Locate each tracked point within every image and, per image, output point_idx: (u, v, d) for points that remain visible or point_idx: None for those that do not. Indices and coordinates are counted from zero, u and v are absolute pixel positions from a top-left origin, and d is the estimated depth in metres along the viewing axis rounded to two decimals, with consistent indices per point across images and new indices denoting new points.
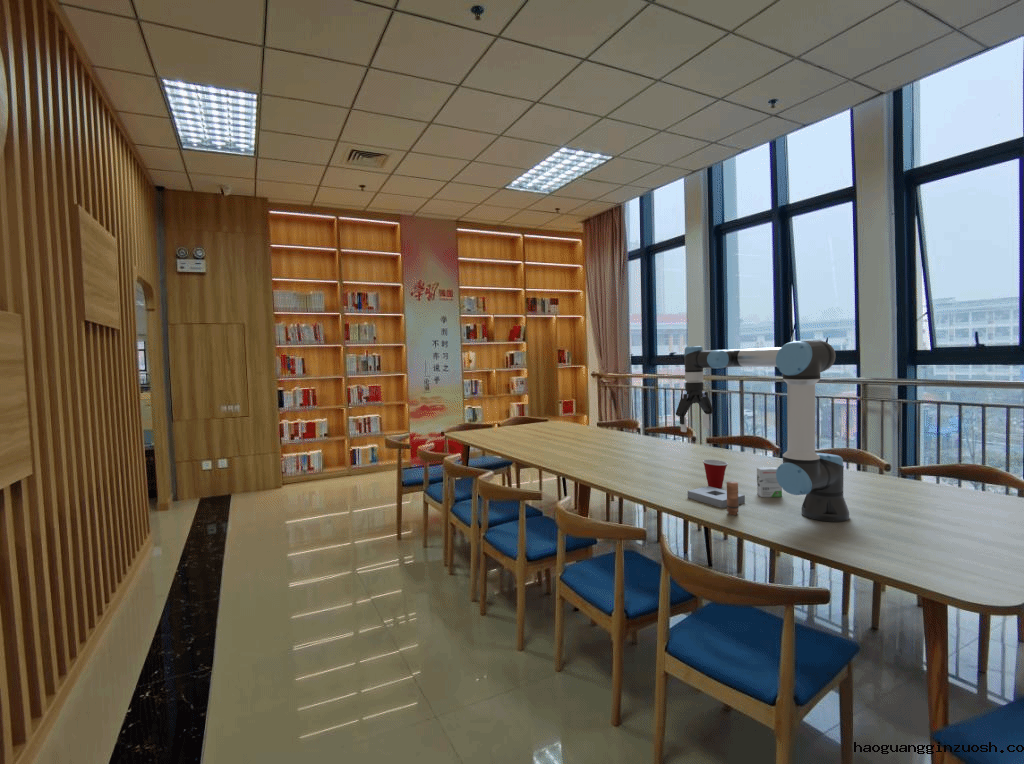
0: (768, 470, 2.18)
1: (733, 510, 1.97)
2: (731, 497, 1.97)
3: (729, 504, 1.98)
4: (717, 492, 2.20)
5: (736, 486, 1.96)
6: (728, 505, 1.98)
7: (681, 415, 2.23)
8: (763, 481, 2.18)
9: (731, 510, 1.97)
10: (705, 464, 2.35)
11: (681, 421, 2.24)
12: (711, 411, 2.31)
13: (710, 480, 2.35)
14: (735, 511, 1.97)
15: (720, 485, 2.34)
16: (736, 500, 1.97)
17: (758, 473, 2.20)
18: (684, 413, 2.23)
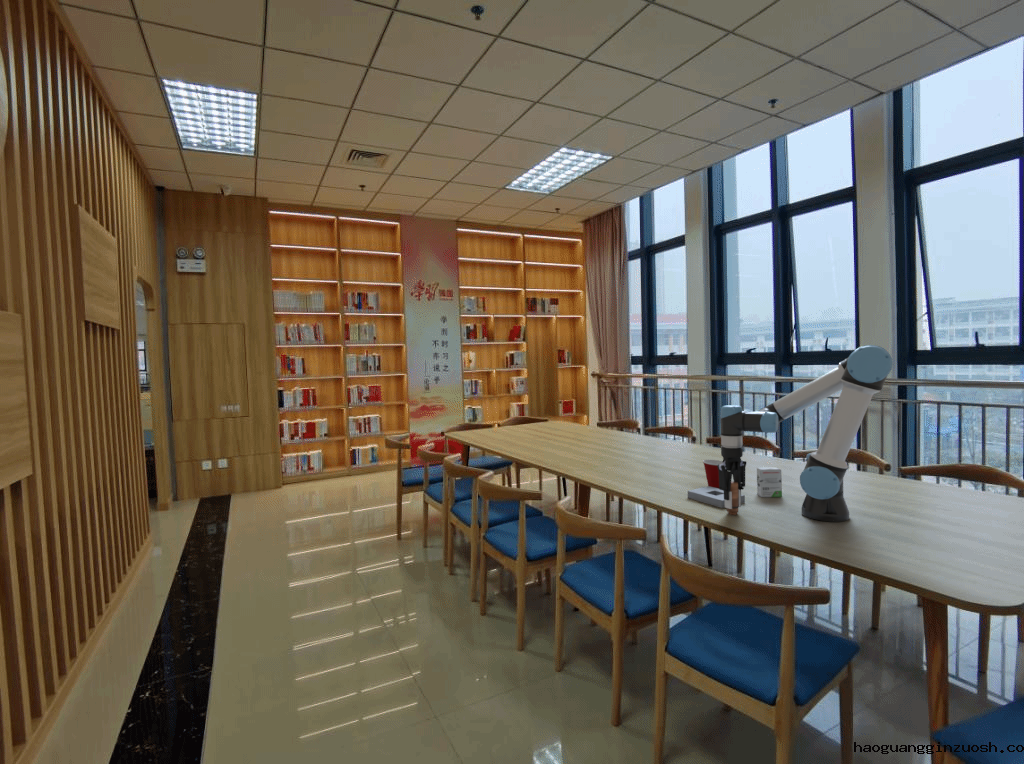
0: (768, 470, 2.18)
1: (733, 510, 1.97)
2: None
3: None
4: (717, 492, 2.20)
5: (736, 486, 1.96)
6: None
7: (726, 491, 1.96)
8: (763, 481, 2.18)
9: (731, 510, 1.97)
10: (705, 464, 2.35)
11: (726, 496, 1.96)
12: (742, 485, 1.99)
13: (710, 480, 2.35)
14: (735, 511, 1.97)
15: None
16: (736, 500, 1.97)
17: (758, 473, 2.20)
18: (728, 487, 1.96)
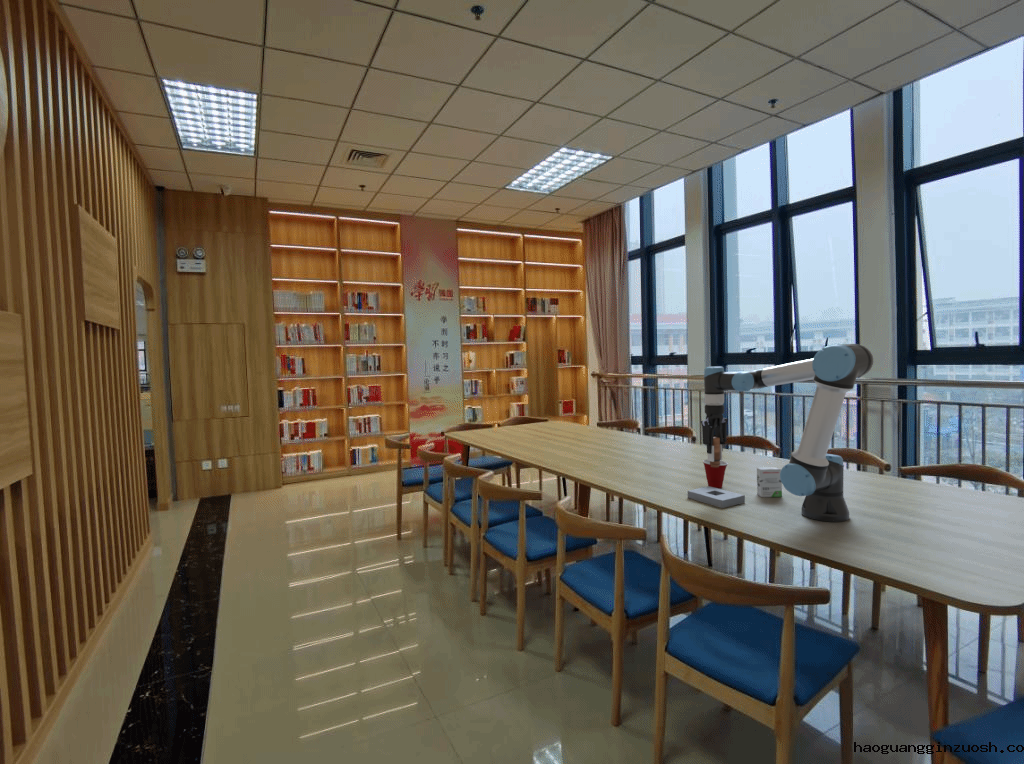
0: (768, 470, 2.18)
1: (715, 463, 2.14)
2: None
3: None
4: (717, 492, 2.20)
5: (718, 441, 2.13)
6: None
7: (709, 445, 2.13)
8: (763, 481, 2.18)
9: (713, 463, 2.14)
10: (705, 464, 2.35)
11: (708, 450, 2.13)
12: (724, 440, 2.16)
13: (710, 480, 2.35)
14: (717, 464, 2.14)
15: (720, 485, 2.34)
16: (718, 454, 2.14)
17: (758, 472, 2.20)
18: (711, 442, 2.12)
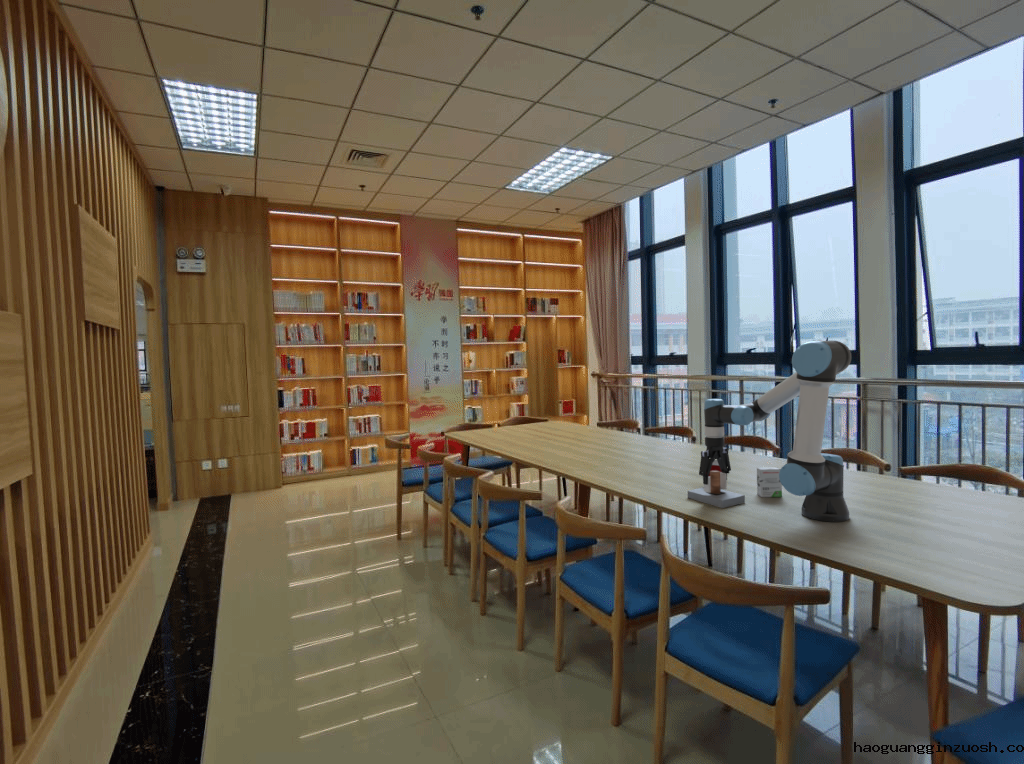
0: (768, 470, 2.18)
1: None
2: (714, 485, 2.15)
3: (712, 491, 2.16)
4: None
5: (718, 475, 2.15)
6: (711, 492, 2.16)
7: (705, 475, 2.13)
8: (763, 481, 2.18)
9: None
10: None
11: (705, 481, 2.14)
12: (728, 470, 2.19)
13: None
14: None
15: None
16: (718, 487, 2.15)
17: (758, 473, 2.20)
18: (707, 473, 2.13)
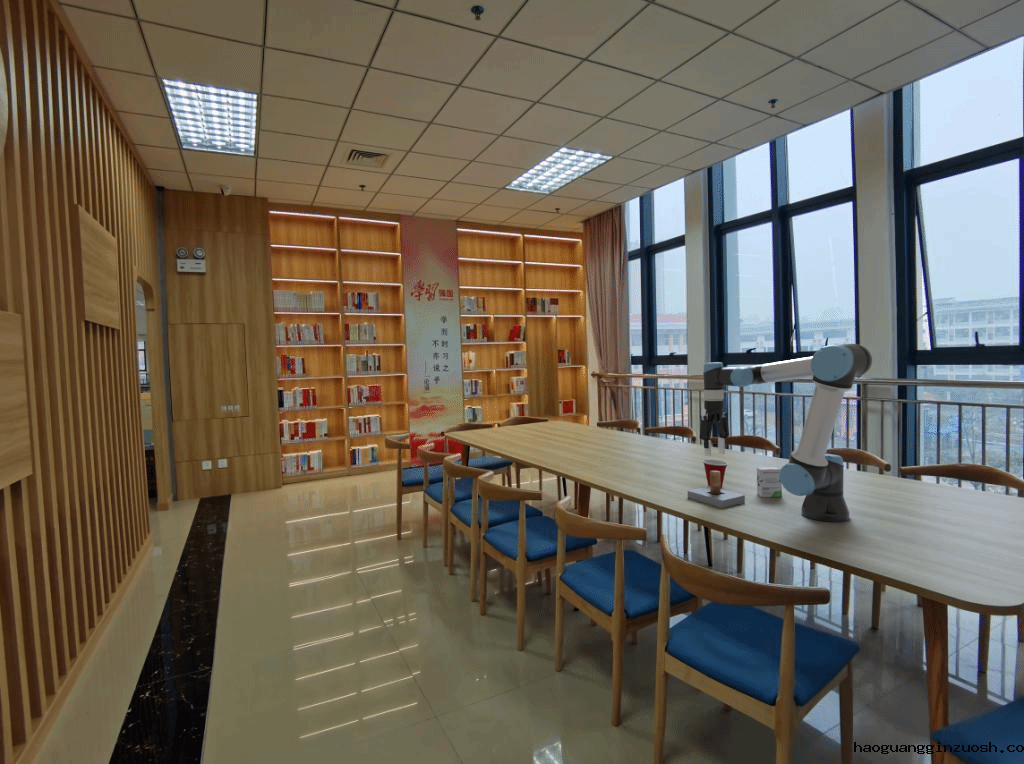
0: (768, 470, 2.18)
1: None
2: (714, 485, 2.15)
3: (712, 491, 2.16)
4: None
5: (718, 475, 2.15)
6: (711, 492, 2.16)
7: (705, 439, 2.12)
8: (763, 481, 2.18)
9: None
10: (705, 464, 2.35)
11: (705, 445, 2.13)
12: (726, 435, 2.17)
13: None
14: None
15: (720, 485, 2.34)
16: (718, 487, 2.15)
17: (758, 473, 2.20)
18: (708, 436, 2.12)
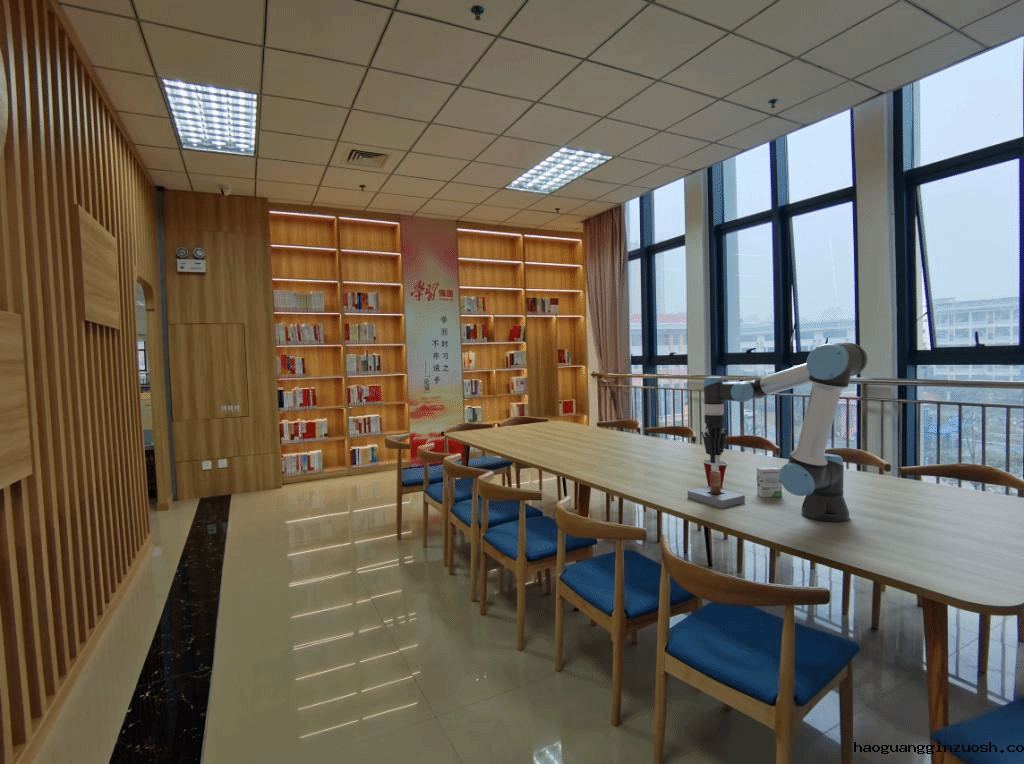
0: (768, 470, 2.18)
1: None
2: (714, 485, 2.15)
3: (712, 491, 2.16)
4: None
5: (718, 475, 2.15)
6: (711, 492, 2.16)
7: (712, 455, 2.15)
8: (763, 481, 2.18)
9: None
10: (705, 464, 2.35)
11: (712, 460, 2.15)
12: (721, 451, 2.16)
13: None
14: None
15: None
16: (718, 487, 2.15)
17: (758, 472, 2.20)
18: (714, 452, 2.14)
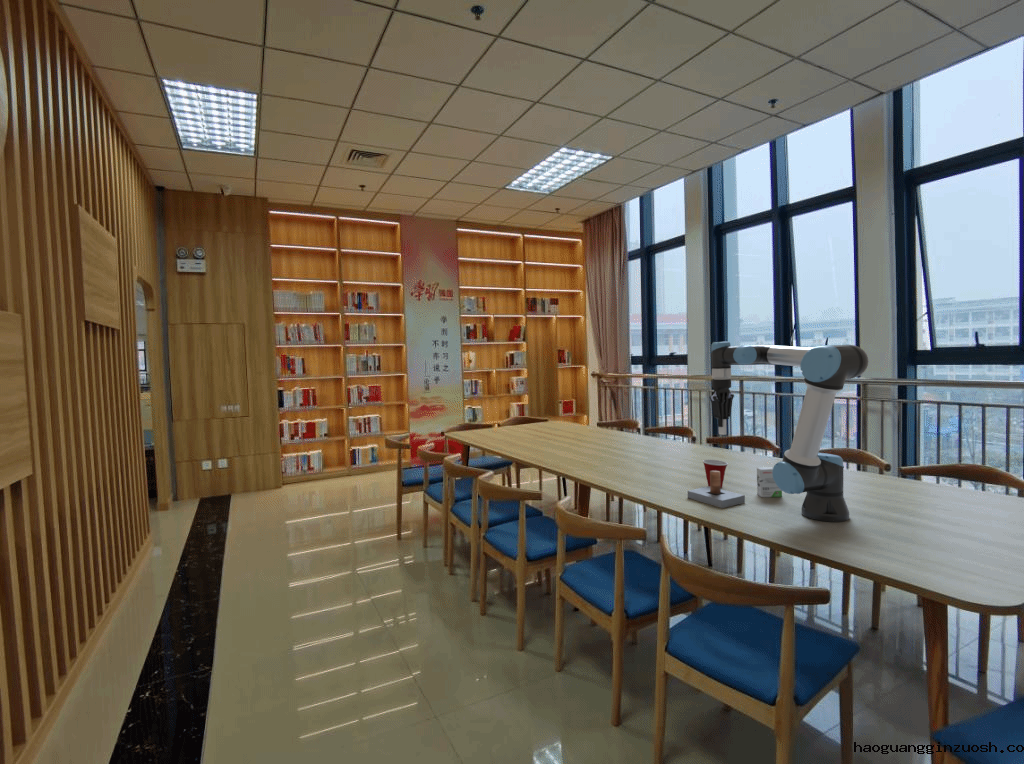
0: (768, 470, 2.18)
1: None
2: (714, 485, 2.15)
3: (712, 491, 2.16)
4: None
5: (718, 474, 2.15)
6: (711, 492, 2.16)
7: (720, 419, 2.18)
8: (763, 481, 2.18)
9: None
10: (705, 464, 2.35)
11: (720, 424, 2.19)
12: (728, 415, 2.20)
13: None
14: None
15: None
16: (718, 487, 2.15)
17: (758, 472, 2.20)
18: (722, 415, 2.18)
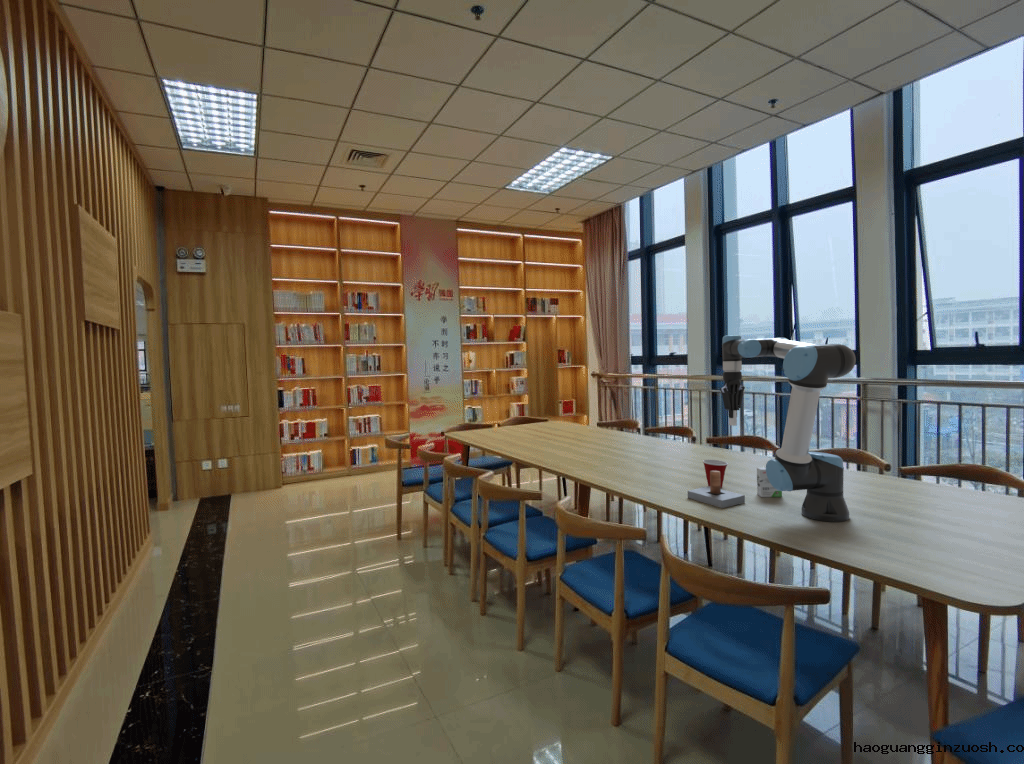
0: None
1: None
2: (714, 485, 2.15)
3: (712, 491, 2.16)
4: None
5: (718, 474, 2.15)
6: (711, 492, 2.16)
7: (730, 410, 2.24)
8: (763, 481, 2.18)
9: None
10: (705, 464, 2.35)
11: (730, 415, 2.25)
12: (738, 406, 2.26)
13: None
14: None
15: None
16: (718, 487, 2.15)
17: (758, 472, 2.20)
18: (732, 407, 2.24)
